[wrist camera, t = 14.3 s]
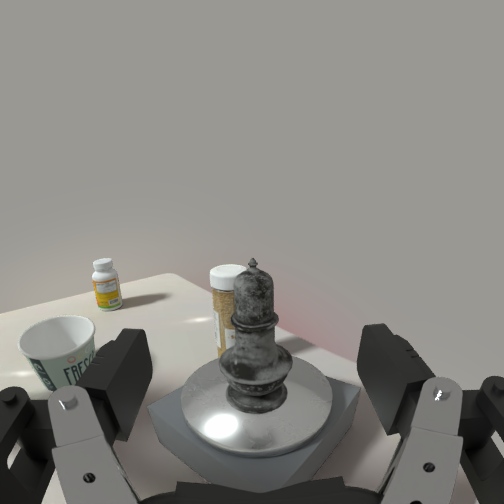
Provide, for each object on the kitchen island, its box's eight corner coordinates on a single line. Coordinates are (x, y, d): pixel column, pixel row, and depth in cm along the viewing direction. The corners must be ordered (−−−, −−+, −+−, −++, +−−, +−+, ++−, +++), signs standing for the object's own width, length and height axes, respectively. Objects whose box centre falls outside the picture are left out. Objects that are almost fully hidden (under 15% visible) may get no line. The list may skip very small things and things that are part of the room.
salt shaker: (281, 369, 27) (283, 245, 24) (299, 410, 22) (308, 267, 18) (219, 376, 26) (208, 250, 23) (225, 420, 21) (210, 275, 18)
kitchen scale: (159, 442, 25) (147, 406, 24) (252, 378, 36) (250, 343, 34) (272, 521, 16) (273, 494, 15) (354, 420, 27) (363, 384, 26)
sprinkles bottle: (244, 374, 37) (239, 276, 33) (212, 367, 38) (202, 273, 35) (255, 355, 41) (253, 264, 37) (225, 350, 42) (219, 261, 39)
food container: (63, 345, 41) (52, 310, 39) (120, 358, 39) (110, 319, 38) (19, 384, 30) (2, 345, 28) (78, 409, 28) (60, 366, 26)
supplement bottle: (104, 300, 59) (96, 257, 57) (126, 301, 60) (119, 256, 57) (94, 311, 54) (85, 265, 52) (117, 312, 54) (108, 264, 52)
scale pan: (157, 415, 24) (151, 395, 23) (247, 357, 34) (247, 338, 33) (271, 494, 16) (272, 477, 15) (352, 397, 26) (356, 377, 25)
